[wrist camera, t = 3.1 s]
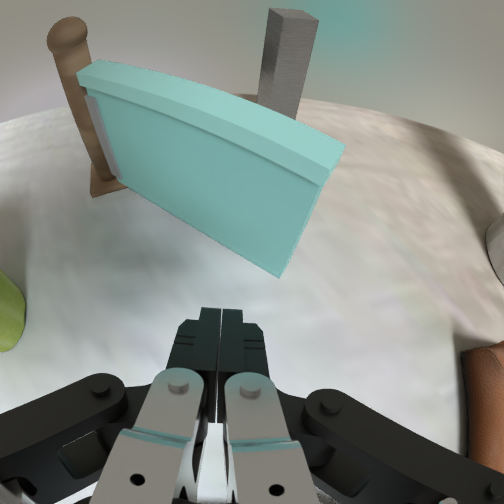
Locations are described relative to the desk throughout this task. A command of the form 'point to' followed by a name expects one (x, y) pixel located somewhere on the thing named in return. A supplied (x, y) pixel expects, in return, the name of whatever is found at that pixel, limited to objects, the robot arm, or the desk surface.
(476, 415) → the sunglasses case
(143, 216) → the desk surface
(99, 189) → the hinge post
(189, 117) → the gate
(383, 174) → the desk surface
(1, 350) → the plant pot
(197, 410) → the robot arm
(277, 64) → the latch post
